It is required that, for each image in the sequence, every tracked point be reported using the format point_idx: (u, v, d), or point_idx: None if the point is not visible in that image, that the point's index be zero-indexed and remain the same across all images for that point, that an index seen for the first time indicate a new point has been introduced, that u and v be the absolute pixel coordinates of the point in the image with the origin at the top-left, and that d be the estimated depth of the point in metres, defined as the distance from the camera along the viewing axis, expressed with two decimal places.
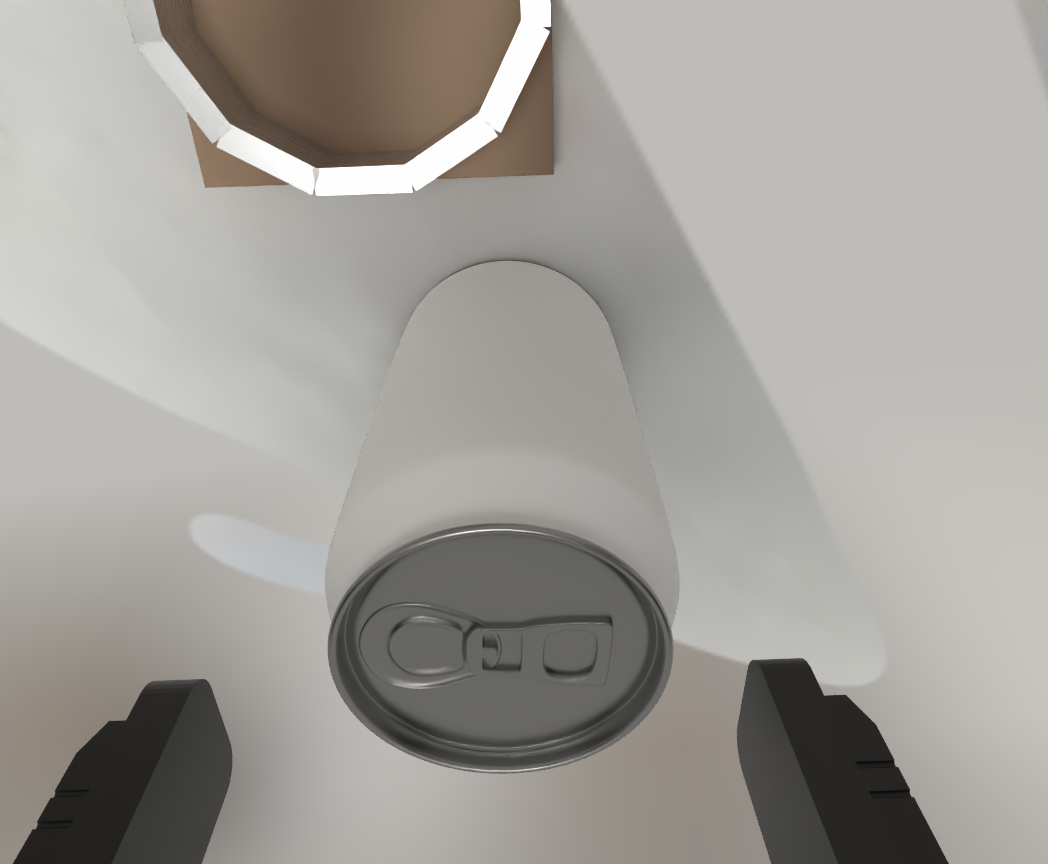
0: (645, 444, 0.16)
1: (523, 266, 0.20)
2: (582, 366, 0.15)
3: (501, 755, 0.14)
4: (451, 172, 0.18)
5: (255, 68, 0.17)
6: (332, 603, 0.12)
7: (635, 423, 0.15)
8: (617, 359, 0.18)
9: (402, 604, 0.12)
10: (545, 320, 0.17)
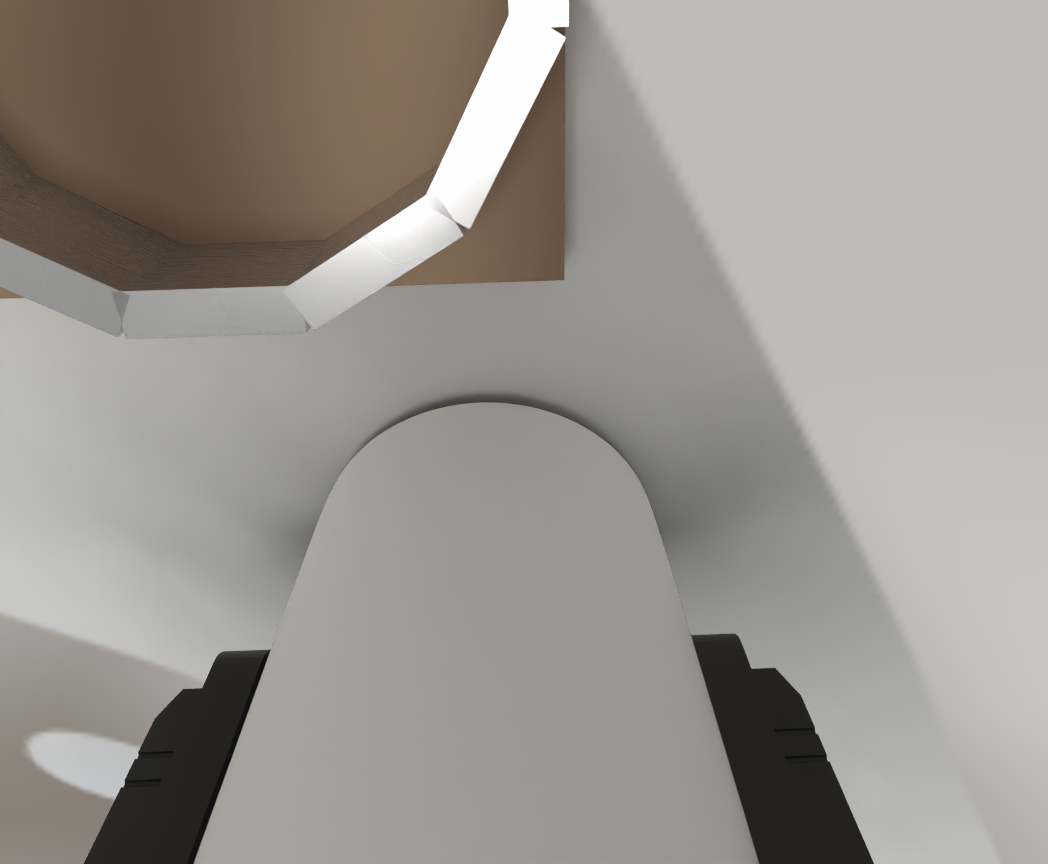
0: (752, 841, 0.08)
1: (512, 417, 0.12)
2: (632, 708, 0.08)
3: None
4: None
5: (23, 98, 0.09)
6: None
7: (737, 815, 0.08)
8: (675, 598, 0.11)
9: None
10: (554, 570, 0.09)
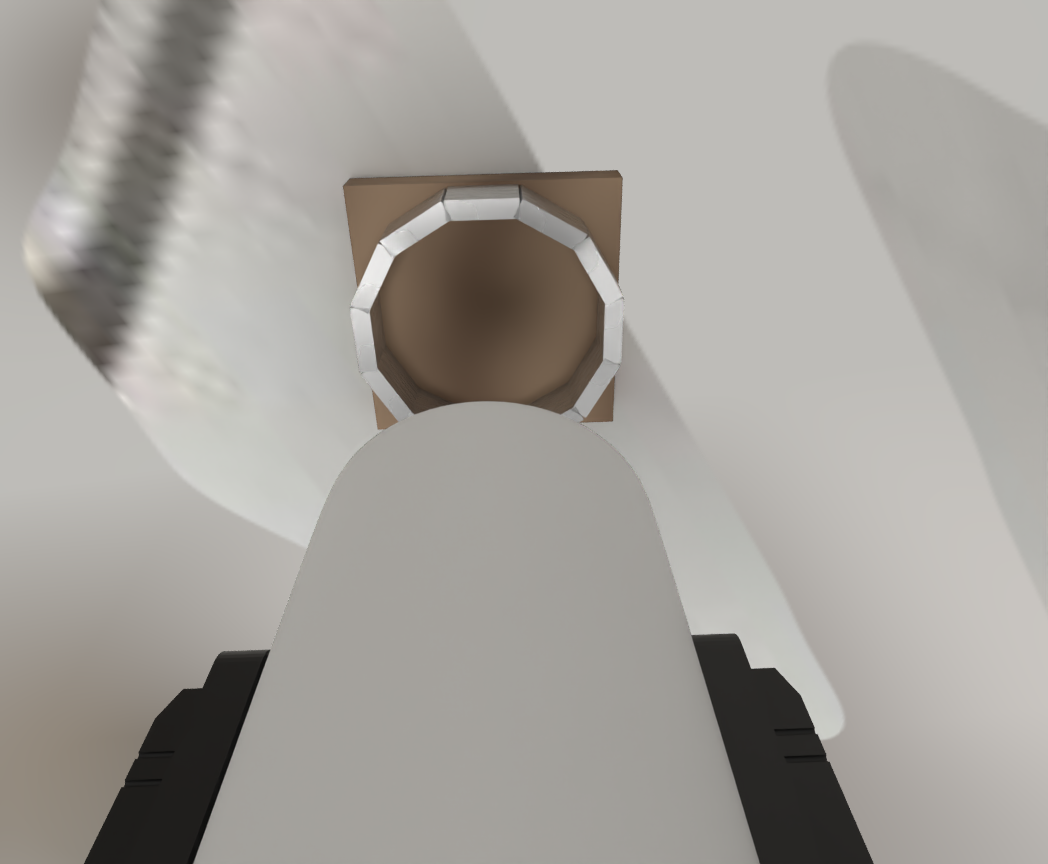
0: (752, 839, 0.08)
1: (513, 416, 0.12)
2: (633, 706, 0.08)
3: None
4: None
5: (420, 363, 0.26)
6: None
7: (737, 812, 0.08)
8: (675, 597, 0.11)
9: None
10: (555, 569, 0.09)
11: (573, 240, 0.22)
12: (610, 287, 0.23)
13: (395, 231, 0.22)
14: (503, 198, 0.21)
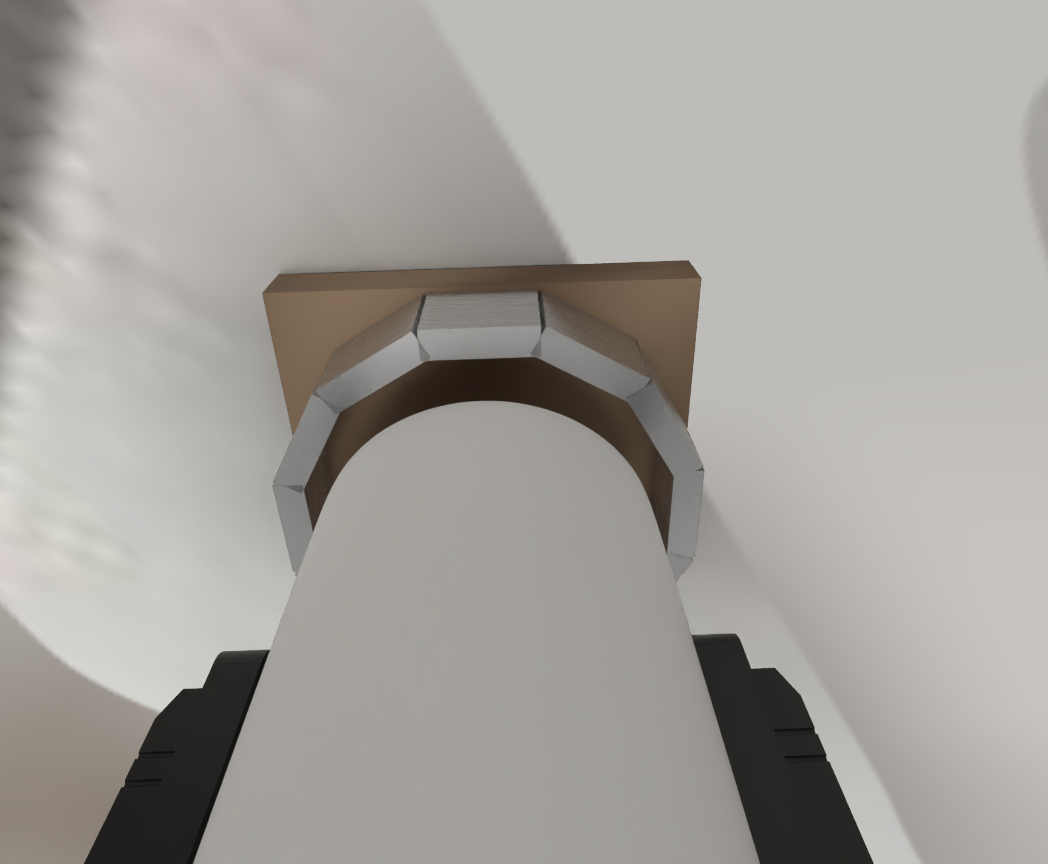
0: None
1: (512, 415, 0.12)
2: (632, 706, 0.08)
3: None
4: None
5: None
6: None
7: (737, 812, 0.08)
8: (674, 596, 0.11)
9: None
10: (555, 568, 0.09)
11: (627, 387, 0.14)
12: (683, 454, 0.14)
13: (339, 376, 0.13)
14: (514, 326, 0.13)
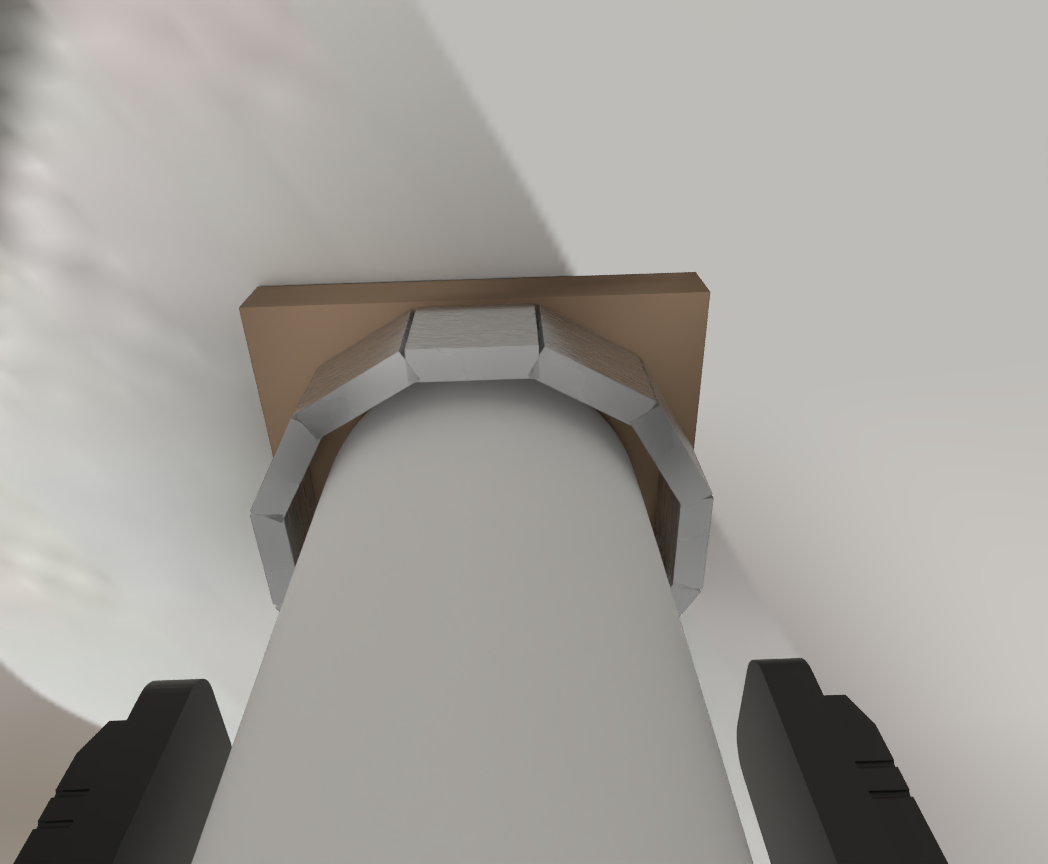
0: (714, 734, 0.09)
1: (508, 381, 0.13)
2: (612, 615, 0.09)
3: None
4: None
5: None
6: None
7: (701, 708, 0.09)
8: (652, 541, 0.12)
9: None
10: (546, 506, 0.10)
11: (631, 411, 0.13)
12: (691, 481, 0.13)
13: (320, 398, 0.12)
14: (510, 345, 0.12)
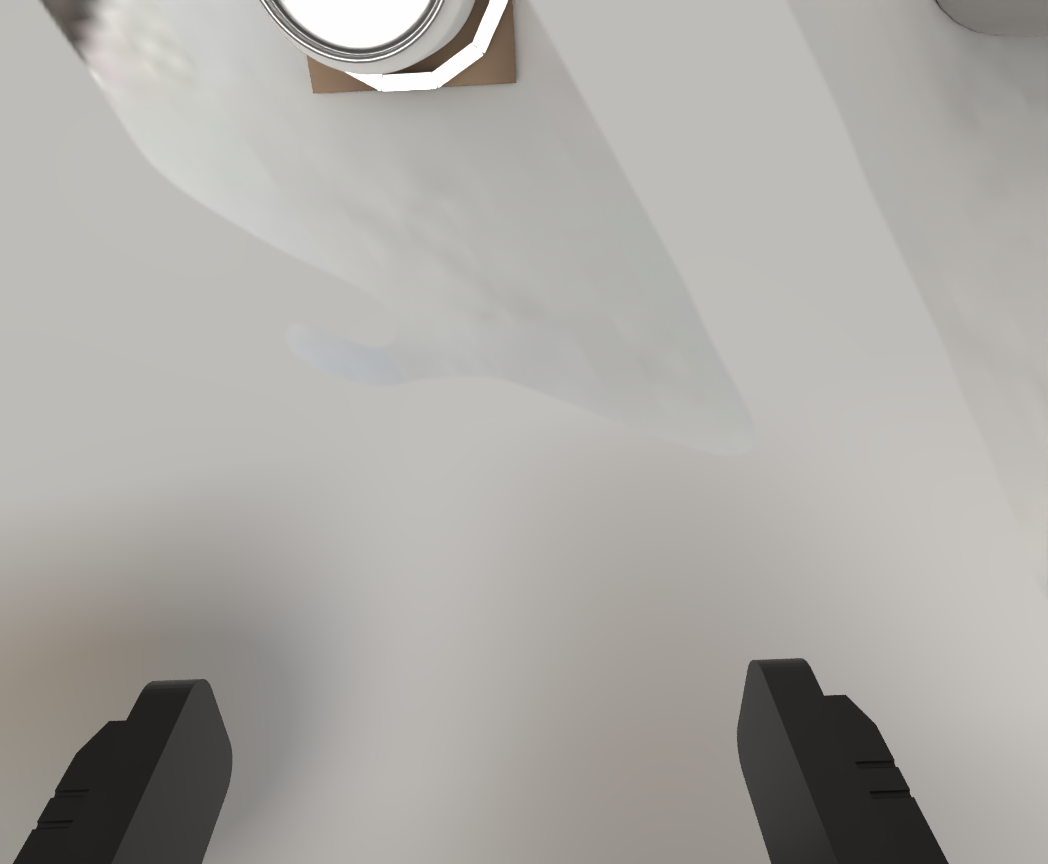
0: None
1: None
2: None
3: (357, 59, 0.21)
4: (456, 82, 0.32)
5: None
6: None
7: None
8: None
9: None
10: None
11: None
12: None
13: None
14: None
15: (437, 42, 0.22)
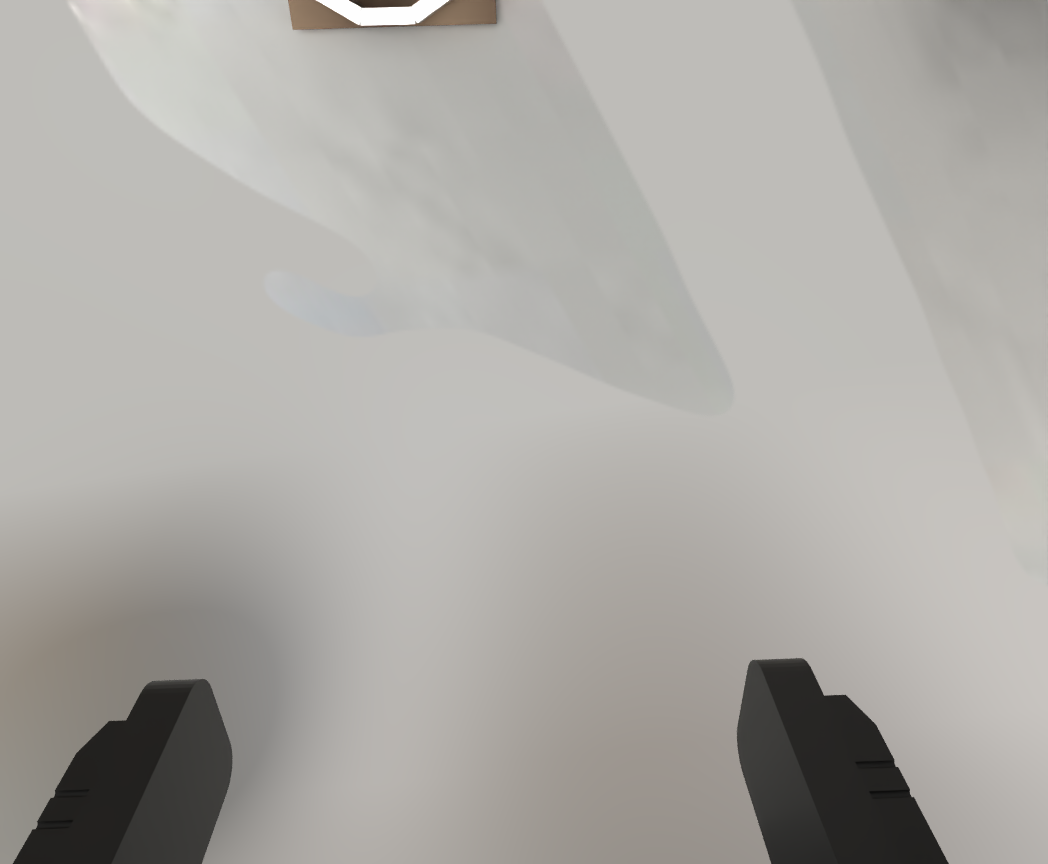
0: None
1: None
2: None
3: None
4: (436, 21, 0.32)
5: None
6: None
7: None
8: None
9: None
10: None
11: None
12: None
13: None
14: None
15: None
